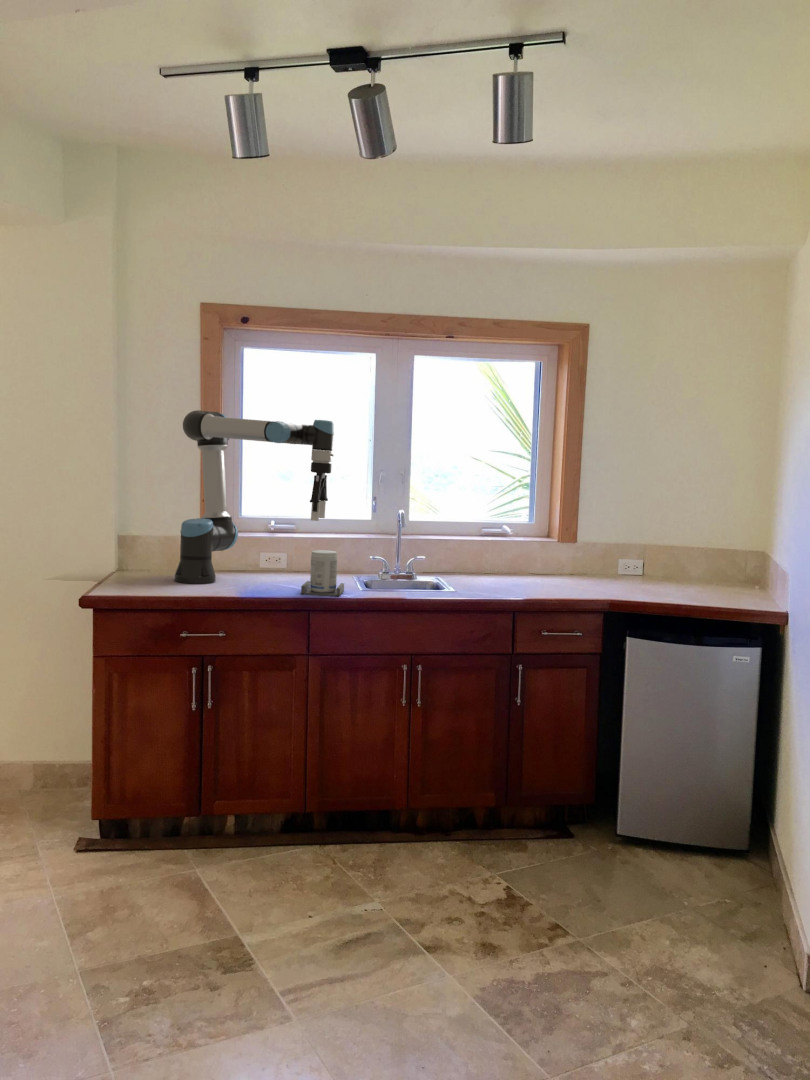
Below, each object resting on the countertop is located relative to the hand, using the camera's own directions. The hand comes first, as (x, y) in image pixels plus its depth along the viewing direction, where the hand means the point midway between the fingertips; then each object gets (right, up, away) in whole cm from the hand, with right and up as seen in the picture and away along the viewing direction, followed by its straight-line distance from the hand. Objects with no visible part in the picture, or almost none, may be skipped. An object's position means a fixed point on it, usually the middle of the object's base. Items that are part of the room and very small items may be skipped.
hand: (317, 519), depth 334 cm
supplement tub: (+2, -27, -4) cm, 27 cm away
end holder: (+2, -27, -4) cm, 27 cm away
